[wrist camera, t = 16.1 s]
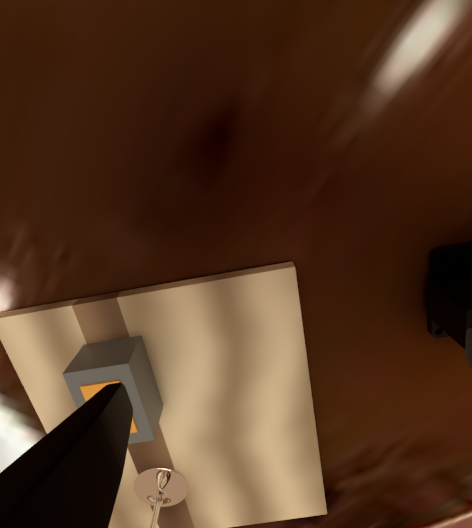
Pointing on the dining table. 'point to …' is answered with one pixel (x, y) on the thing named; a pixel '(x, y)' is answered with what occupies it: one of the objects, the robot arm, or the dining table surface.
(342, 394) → the dining table surface
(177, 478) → the wineglass
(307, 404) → the subfloor board
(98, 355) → the block
